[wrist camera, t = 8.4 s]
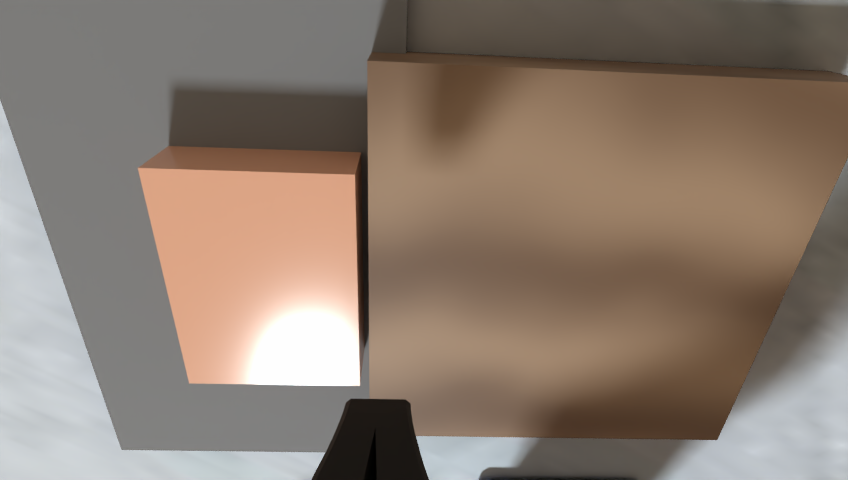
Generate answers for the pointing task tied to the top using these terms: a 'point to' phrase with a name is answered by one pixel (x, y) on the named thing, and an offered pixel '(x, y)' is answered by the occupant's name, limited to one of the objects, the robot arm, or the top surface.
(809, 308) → the top surface
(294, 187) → the tile
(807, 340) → the top surface
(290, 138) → the mat
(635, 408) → the brown flat square slab
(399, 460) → the robot arm
